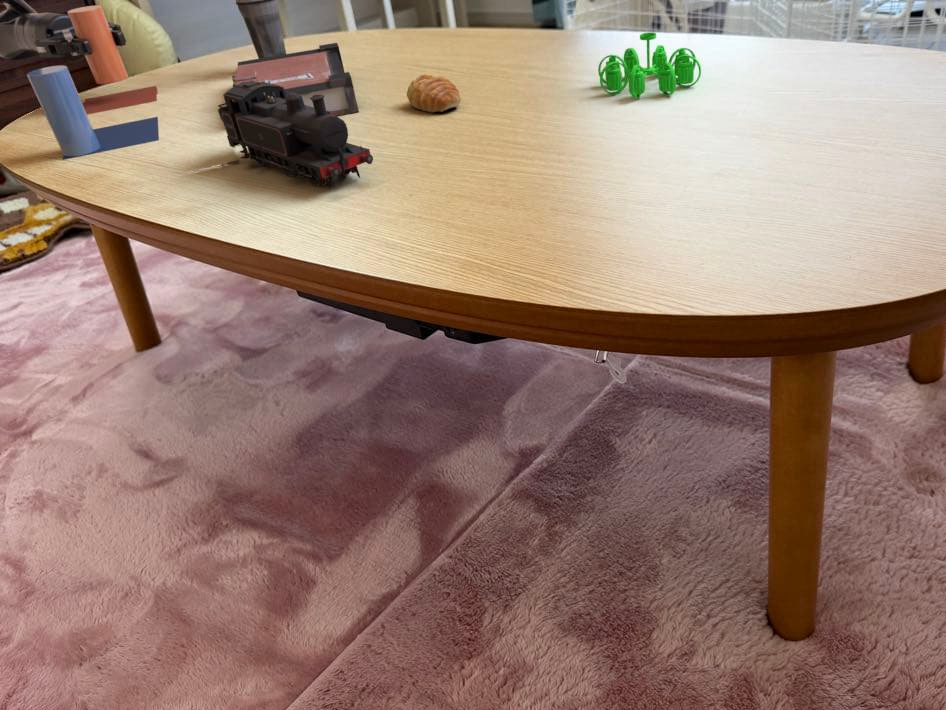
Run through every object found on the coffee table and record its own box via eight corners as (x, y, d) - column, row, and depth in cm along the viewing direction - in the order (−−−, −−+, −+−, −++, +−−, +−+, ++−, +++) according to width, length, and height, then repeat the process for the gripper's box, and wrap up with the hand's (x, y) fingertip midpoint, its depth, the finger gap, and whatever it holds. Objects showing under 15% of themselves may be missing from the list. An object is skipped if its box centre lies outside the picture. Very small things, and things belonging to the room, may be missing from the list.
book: (242, 90, 137) (232, 59, 134) (344, 73, 140) (337, 42, 137) (239, 133, 116) (227, 98, 113) (358, 111, 119) (351, 76, 116)
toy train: (330, 200, 91) (307, 110, 85) (228, 161, 106) (202, 83, 100) (385, 178, 95) (366, 91, 89) (279, 144, 110) (257, 67, 104)
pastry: (474, 106, 116) (469, 79, 113) (432, 118, 113) (427, 90, 111) (443, 95, 122) (438, 68, 120) (403, 106, 120) (398, 79, 117)
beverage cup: (249, 71, 149) (212, -52, 137) (284, 61, 152) (252, -59, 141) (266, 76, 144) (230, -51, 132) (302, 66, 148) (270, -58, 136)
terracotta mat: (82, 119, 132) (80, 115, 132) (86, 102, 141) (84, 99, 141) (158, 104, 135) (156, 100, 135) (157, 89, 144) (156, 85, 144)
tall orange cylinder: (95, 86, 133) (65, 14, 127) (96, 79, 137) (68, 9, 131) (128, 80, 135) (100, 8, 128) (128, 73, 139) (102, 3, 132)
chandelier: (669, 66, 123) (669, 17, 119) (722, 87, 111) (724, 33, 107) (579, 85, 119) (576, 35, 115) (625, 109, 108) (623, 54, 104)
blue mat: (64, 164, 113) (62, 159, 112) (70, 137, 123) (69, 134, 123) (160, 144, 116) (158, 139, 116) (159, 120, 127) (157, 116, 126)
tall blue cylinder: (62, 159, 112) (24, 77, 106) (64, 150, 116) (28, 70, 110) (99, 152, 114) (65, 70, 107) (101, 142, 117) (68, 63, 111)
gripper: (5, 23, 134) (52, 28, 125) (86, 4, 142) (136, 8, 133) (26, 70, 138) (73, 79, 129) (104, 49, 147) (153, 56, 138)
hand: (105, 43), depth 131 cm, fingers closed on tall orange cylinder, 5 cm apart
